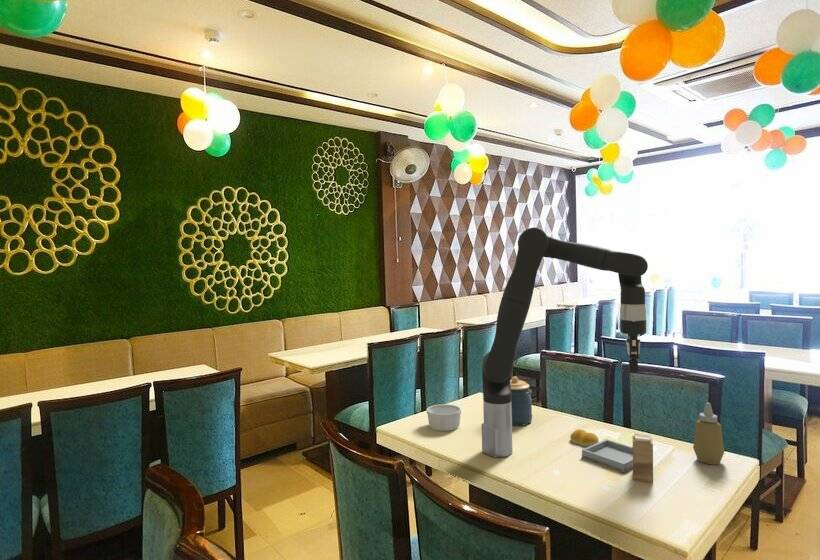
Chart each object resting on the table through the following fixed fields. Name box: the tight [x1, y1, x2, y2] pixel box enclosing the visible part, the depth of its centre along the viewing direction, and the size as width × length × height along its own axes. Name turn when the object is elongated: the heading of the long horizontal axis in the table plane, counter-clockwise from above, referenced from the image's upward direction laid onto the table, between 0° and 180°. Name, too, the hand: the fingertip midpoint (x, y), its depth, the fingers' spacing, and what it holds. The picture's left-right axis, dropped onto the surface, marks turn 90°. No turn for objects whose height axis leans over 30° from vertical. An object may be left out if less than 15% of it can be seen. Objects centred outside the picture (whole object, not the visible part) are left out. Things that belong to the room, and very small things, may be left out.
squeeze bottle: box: [692, 402, 725, 465], centre depth 143 cm, size 8×8×18 cm
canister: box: [510, 376, 533, 426], centre depth 185 cm, size 13×13×18 cm
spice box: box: [632, 432, 654, 483], centre depth 134 cm, size 5×5×12 cm
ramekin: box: [426, 403, 462, 432], centre depth 180 cm, size 13×13×7 cm
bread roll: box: [569, 429, 599, 447], centre depth 161 cm, size 8×9×4 cm
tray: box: [581, 438, 633, 473], centre depth 147 cm, size 14×14×2 cm
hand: (633, 369), depth 147 cm, fingers open, 8 cm apart
